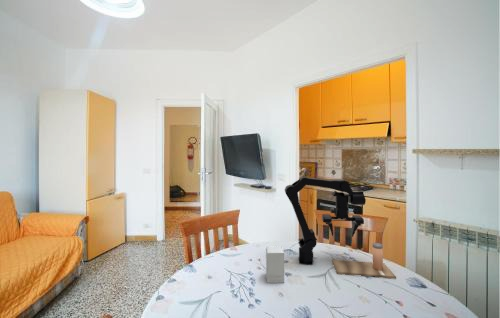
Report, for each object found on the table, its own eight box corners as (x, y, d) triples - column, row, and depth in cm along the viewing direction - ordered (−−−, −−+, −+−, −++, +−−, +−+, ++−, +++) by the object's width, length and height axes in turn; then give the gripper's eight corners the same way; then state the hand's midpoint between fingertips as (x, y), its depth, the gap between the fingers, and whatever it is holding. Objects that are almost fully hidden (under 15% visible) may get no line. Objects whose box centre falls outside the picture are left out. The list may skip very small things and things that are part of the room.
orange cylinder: (377, 271, 98) (377, 246, 98) (370, 266, 102) (370, 243, 102) (384, 270, 99) (384, 245, 99) (378, 265, 103) (377, 242, 103)
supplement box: (284, 283, 91) (284, 253, 91) (267, 283, 91) (266, 253, 91) (282, 273, 99) (282, 245, 99) (266, 273, 99) (265, 245, 99)
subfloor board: (336, 274, 98) (336, 271, 98) (331, 261, 110) (331, 259, 110) (396, 278, 94) (396, 276, 94) (384, 265, 105) (384, 263, 105)
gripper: (357, 202, 115) (357, 231, 115) (320, 201, 118) (320, 230, 118) (364, 206, 104) (364, 239, 104) (323, 205, 107) (323, 237, 107)
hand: (342, 236), depth 109 cm, fingers open, 9 cm apart
